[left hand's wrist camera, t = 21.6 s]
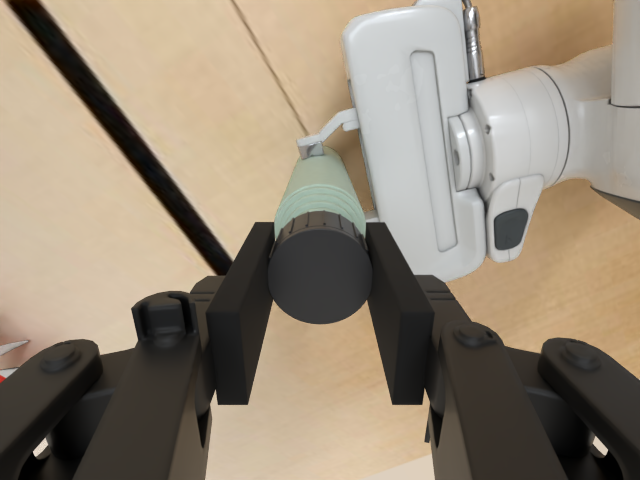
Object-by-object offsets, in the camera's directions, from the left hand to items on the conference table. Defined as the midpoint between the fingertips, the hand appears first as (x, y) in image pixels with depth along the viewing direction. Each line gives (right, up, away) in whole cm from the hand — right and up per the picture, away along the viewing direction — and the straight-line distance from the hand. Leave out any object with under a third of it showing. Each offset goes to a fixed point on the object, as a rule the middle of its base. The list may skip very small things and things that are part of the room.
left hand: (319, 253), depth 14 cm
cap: (0, -1, -2) cm, 2 cm away
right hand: (-1, +5, +13) cm, 14 cm away
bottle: (0, +7, +18) cm, 20 cm away
